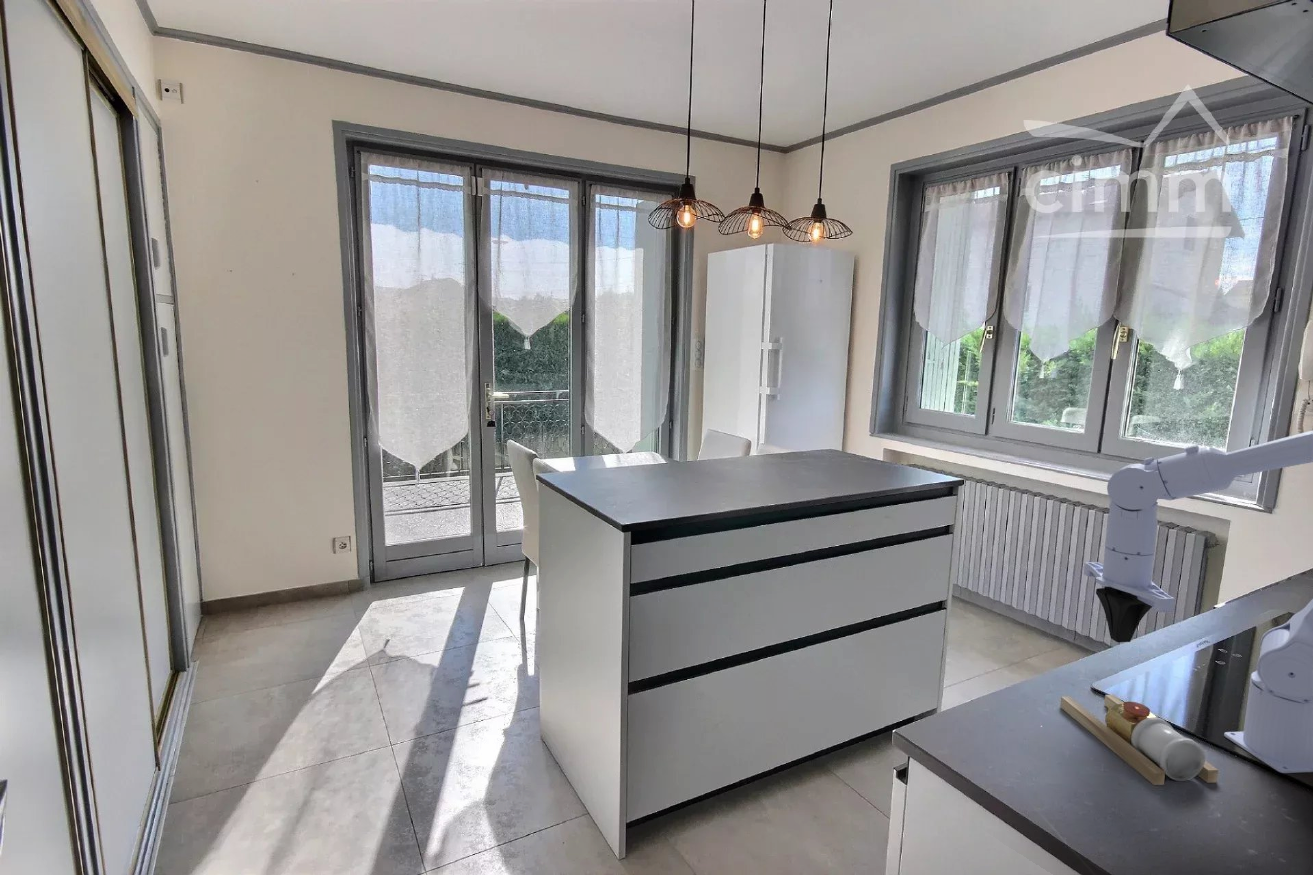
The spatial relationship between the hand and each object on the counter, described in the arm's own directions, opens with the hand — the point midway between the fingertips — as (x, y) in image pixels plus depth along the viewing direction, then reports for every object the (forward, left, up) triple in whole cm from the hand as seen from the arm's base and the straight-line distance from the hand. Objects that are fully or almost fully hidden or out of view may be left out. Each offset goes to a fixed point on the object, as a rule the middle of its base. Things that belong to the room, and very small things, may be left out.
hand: (1120, 640), depth 96 cm
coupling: (+5, +15, -9) cm, 18 cm away
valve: (+5, +10, -9) cm, 15 cm away
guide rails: (+5, +10, -9) cm, 14 cm away
